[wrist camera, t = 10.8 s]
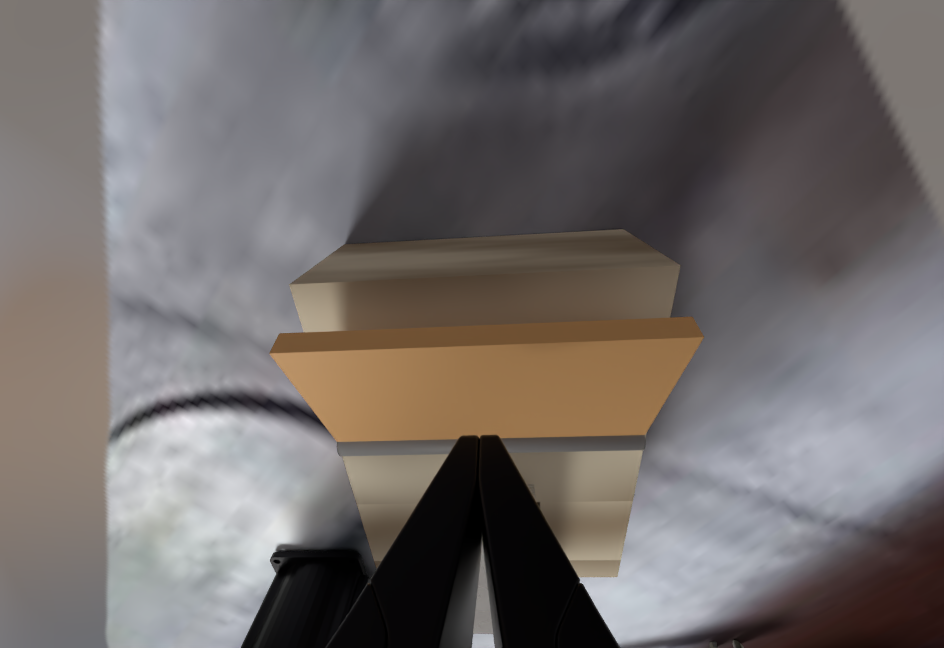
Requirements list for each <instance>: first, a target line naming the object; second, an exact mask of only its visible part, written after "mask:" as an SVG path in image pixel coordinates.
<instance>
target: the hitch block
mask: <svg viewBox="0 0 944 648" xmlns="http://www.w3.org/2000/svg"><path fill="white" fill-rule="evenodd" d="M680 266H681V265H679V264H678V263H676V262H674V261H673V260H671V259H670V258H668V257H666V256H665V255H663V254H662V253H660V252H659V251H657V250H655V249H654V248H652V247H651V246H649V245H648V244H646V243H644V242H643V241H641V240H640V239H638V238H636V237H635V236H633V235H632V234H630V233H629V232H627V231H625V230H624V229H617V230H598V231H580V232H562V233H544V234H525V235H507V236H489V237H470V238H452V239H434V240H416V241H397V242H379V243H361V244H344V245H343V246H341V247H340V248H339V249H337V250H336V251H335V252H333V253H332V254H331V255H329V256H328V257H326V258H325V259H324V260H322V261H321V262H320V263H318V264H317V265H315V266H314V267H313V268H311V269H310V270H309V271H307V272H306V273H304V274H303V275H302V276H300V277H299V278H298V279H296V280H295V281H293V282H292V283H291V284H289V285H290V289H291V292H292V295H293V298H294V302H295V305H296V308H297V311H298V315H299V318H300V321H301V324H302V328H303V331H304V332H329V331H353V330H378V329H403V328H427V327H452V326H476V325H501V324H526V323H550V322H575V321H599V320H624V319H649V318H670V316H671V311H672V306H673V301H674V296H675V291H676V286H677V281H678V276H679V271H680ZM645 438H646V434H645ZM642 453H643V450H630V451H581V452H531V453H509V454H510V456H511V458H512V460H513V461H514V463H515V465H516V467H517V468H518V470H519V472H520V474H521V476H522V477H523V479H524V481H525V483H526V484H534V488H535V495H536V502H537V504H538V506H539V508H540V509H541V511H542V513H543V515H544V516H545V518H546V520H547V522H548V523H549V525H550V527H551V529H552V531H553V532H554V534H555V536H556V538H557V539H558V541H559V543H560V545H561V547H562V548H563V550H564V552H565V554H566V555H567V557H568V559H569V561H570V563H571V564H572V566H573V568H574V570H575V571H576V573H577V575H578V577H617V576H618V571H619V566H620V561H621V556H622V551H623V546H624V541H625V536H626V532H627V527H628V522H629V517H630V512H631V507H632V502H633V497H634V492H635V487H636V482H637V478H638V473H639V468H640V463H641V458H642ZM447 456H448V454H433V455H383V456H342V458H343V461H344V464H345V468H346V471H347V474H348V478H349V481H350V484H351V487H352V491H353V494H354V497H355V500H356V504H357V507H358V510H359V513H360V517H361V520H362V523H363V526H364V530H365V533H366V536H367V539H368V543H369V546H370V549H371V552H372V556H373V559H374V562H375V565H376V569H377V567H378V566H379V564H380V563H381V561H382V559H383V558H384V556H385V555H386V553H387V552H388V550H389V548H390V547H391V545H392V544H393V542H394V540H395V539H396V537H397V536H398V534H399V532H400V531H401V529H402V528H403V526H404V524H405V523H406V521H407V520H408V518H409V516H410V515H411V513H412V512H413V510H414V508H415V507H416V505H417V504H418V502H419V500H420V499H421V497H422V496H423V494H424V493H425V491H426V489H427V488H428V486H429V485H430V483H431V481H432V480H433V478H434V477H435V475H436V473H437V472H438V470H439V469H440V467H441V465H442V464H443V462H444V461H445V459H446V457H447Z"/></svg>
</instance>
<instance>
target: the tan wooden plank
mask: <svg viewBox="0 0 944 648" xmlns="http://www.w3.org/2000/svg"><path fill="white" fill-rule="evenodd" d="M703 338H704V336H703V334H702V333H701V331H700V329H699V327H698V326H697V324H696V322H695V320H694V319H693V317H673V318H649V319H624V320H599V321H575V322H550V323H526V324H501V325H476V326H452V327H427V328H403V329H378V330H353V331H329V332H304V333H280V334H279V335H278V337H277V339H276V341H275V343H274V345H273V347H272V349H271V351H270V353H269V354H270V355H271V356H272V358H273V359H274V360H275V362H276V363H277V364H278V365H279V367H280V368H281V369H282V371H283V372H284V373H285V375H286V376H287V377H288V379H289V380H290V381H291V382H292V384H293V385H294V386H295V388H296V389H297V390H298V392H299V393H300V394H301V396H302V397H303V398H304V399H305V401H306V402H307V403H308V405H309V406H310V407H311V409H312V410H313V411H314V412H315V414H316V415H317V416H318V418H319V419H320V420H321V422H322V423H323V424H324V426H325V427H326V428H327V429H328V431H329V432H330V433H331V435H332V436H333V437H334V439H335V440H336V441H337V451H338V454H339V456H383V455H433V454H449V453H450V451H451V449H452V448H453V446H454V445H455V443H456V441H457V440H458V438H459V437H460V436H462V435H477V436H478V437H479V438H480V436H481V435H498V436H499V437H500V438H501V440H502V442H503V444H504V445H505V447H506V449H507V451H508V452H509V453H531V452H581V451H630V450H644V448H645V443H646V439H645V434H646V433H647V431H648V429H649V428H650V426H651V424H652V423H653V421H654V419H655V418H656V416H657V414H658V413H659V411H660V409H661V408H662V406H663V404H664V403H665V401H666V399H667V398H668V396H669V395H670V393H671V391H672V390H673V388H674V386H675V385H676V383H677V381H678V380H679V378H680V376H681V375H682V373H683V371H684V370H685V368H686V366H687V365H688V363H689V361H690V360H691V358H692V357H693V355H694V353H695V352H696V350H697V348H698V347H699V345H700V343H701V342H702V340H703Z"/></svg>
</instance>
